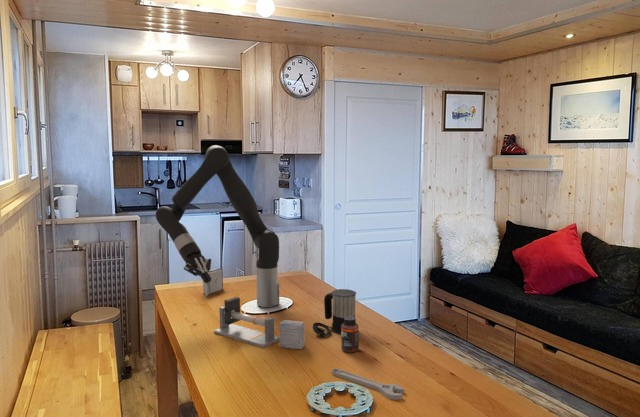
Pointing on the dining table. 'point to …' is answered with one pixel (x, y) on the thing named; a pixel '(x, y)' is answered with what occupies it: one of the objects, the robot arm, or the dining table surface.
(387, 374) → the dining table surface
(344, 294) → the milk frother
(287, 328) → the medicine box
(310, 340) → the dining table surface
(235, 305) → the collar
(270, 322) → the pipe stand
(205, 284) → the grey rectangular block
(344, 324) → the supplement bottle
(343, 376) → the adjustable wrench
